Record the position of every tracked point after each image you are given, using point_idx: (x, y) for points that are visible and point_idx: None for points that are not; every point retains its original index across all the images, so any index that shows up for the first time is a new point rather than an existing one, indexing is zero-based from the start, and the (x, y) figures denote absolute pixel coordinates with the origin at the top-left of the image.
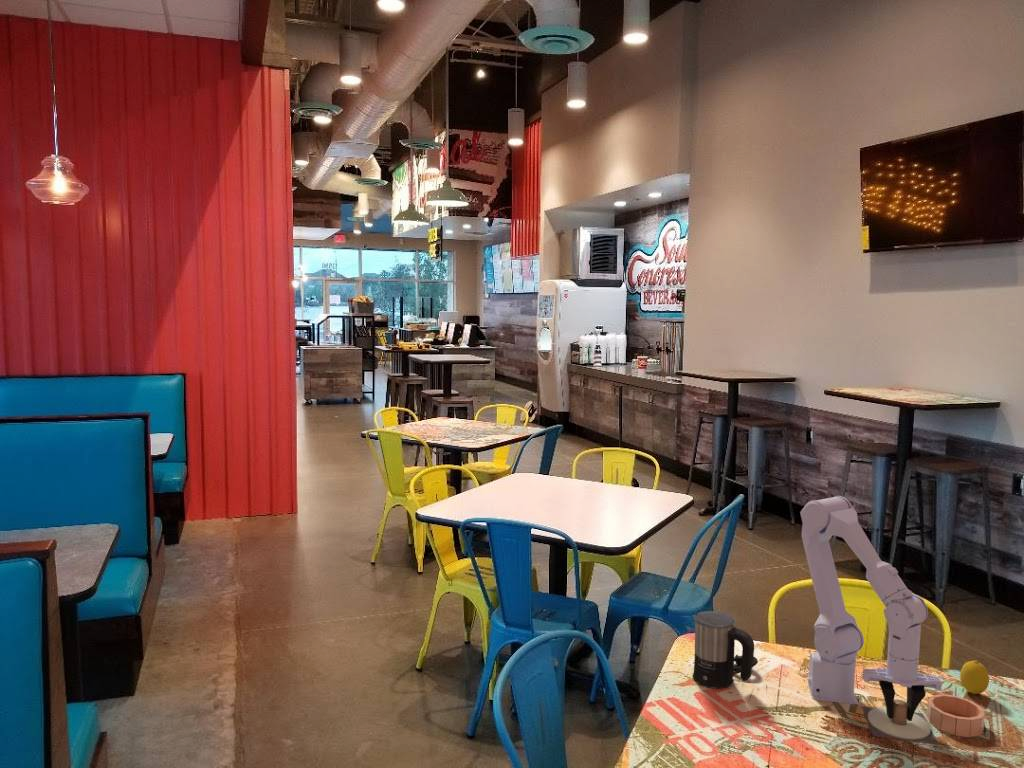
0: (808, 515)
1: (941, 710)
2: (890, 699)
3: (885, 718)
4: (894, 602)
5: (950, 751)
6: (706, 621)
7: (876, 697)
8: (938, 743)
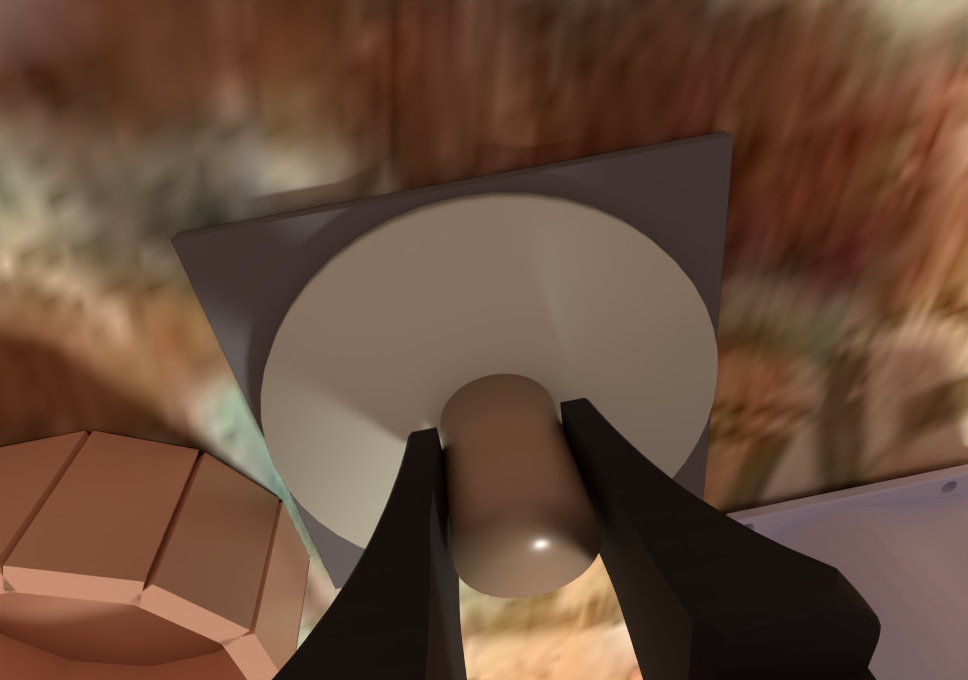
0: None
1: (224, 653)
2: (671, 523)
3: None
4: None
5: (62, 184)
6: None
7: (583, 625)
8: (177, 253)
